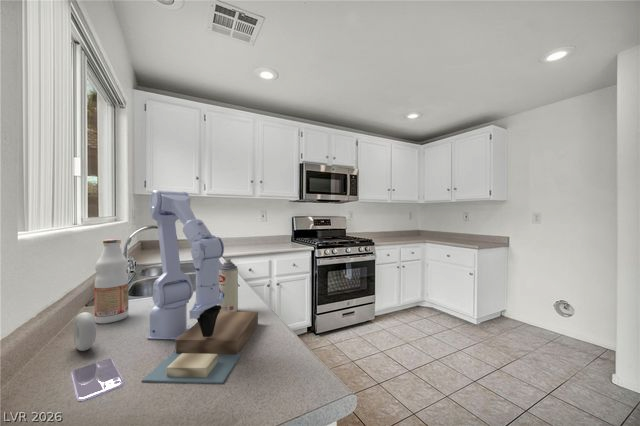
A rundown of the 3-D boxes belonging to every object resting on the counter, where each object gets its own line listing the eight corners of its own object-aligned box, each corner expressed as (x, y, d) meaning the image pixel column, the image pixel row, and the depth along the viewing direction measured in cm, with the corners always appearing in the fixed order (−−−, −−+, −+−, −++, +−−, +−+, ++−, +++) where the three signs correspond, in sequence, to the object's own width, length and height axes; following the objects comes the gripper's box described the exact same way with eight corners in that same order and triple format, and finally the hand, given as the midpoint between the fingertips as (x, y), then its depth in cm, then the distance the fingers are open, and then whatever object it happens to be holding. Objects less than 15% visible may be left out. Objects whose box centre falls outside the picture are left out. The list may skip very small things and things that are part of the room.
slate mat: (141, 381, 57) (141, 380, 57) (174, 353, 69) (174, 351, 69) (222, 383, 57) (222, 381, 57) (241, 354, 69) (241, 352, 69)
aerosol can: (216, 311, 99) (215, 258, 99) (234, 307, 103) (233, 256, 103) (222, 317, 93) (221, 261, 94) (240, 312, 98) (240, 259, 98)
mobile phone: (111, 356, 67) (125, 381, 57) (111, 360, 67) (125, 386, 57) (70, 369, 61) (77, 400, 51) (70, 374, 61) (77, 405, 51)
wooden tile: (181, 353, 65) (182, 361, 65) (166, 367, 59) (166, 376, 59) (217, 353, 64) (217, 362, 64) (206, 368, 58) (206, 377, 58)
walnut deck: (175, 355, 68) (175, 339, 68) (210, 323, 88) (210, 311, 88) (236, 356, 68) (236, 340, 68) (257, 323, 88) (257, 311, 88)
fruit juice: (103, 326, 86) (103, 241, 87) (88, 321, 91) (89, 240, 91) (134, 316, 95) (134, 238, 95) (119, 312, 99) (119, 238, 99)
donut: (98, 352, 70) (98, 314, 70) (80, 358, 67) (80, 319, 67) (87, 341, 76) (87, 307, 76) (71, 346, 73) (71, 310, 73)
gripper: (210, 292, 62) (210, 350, 62) (232, 277, 76) (233, 324, 76) (180, 291, 62) (180, 349, 62) (209, 277, 76) (209, 324, 76)
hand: (207, 335), depth 69 cm, fingers closed
